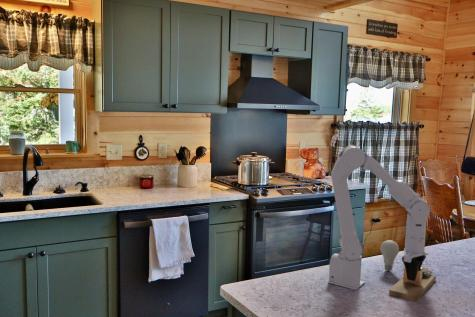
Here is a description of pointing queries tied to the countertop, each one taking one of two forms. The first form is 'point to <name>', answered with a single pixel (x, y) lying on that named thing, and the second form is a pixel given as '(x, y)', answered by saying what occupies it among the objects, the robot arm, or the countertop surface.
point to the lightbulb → (389, 253)
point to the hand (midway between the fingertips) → (412, 278)
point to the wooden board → (411, 288)
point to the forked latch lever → (418, 277)
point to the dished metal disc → (424, 270)
